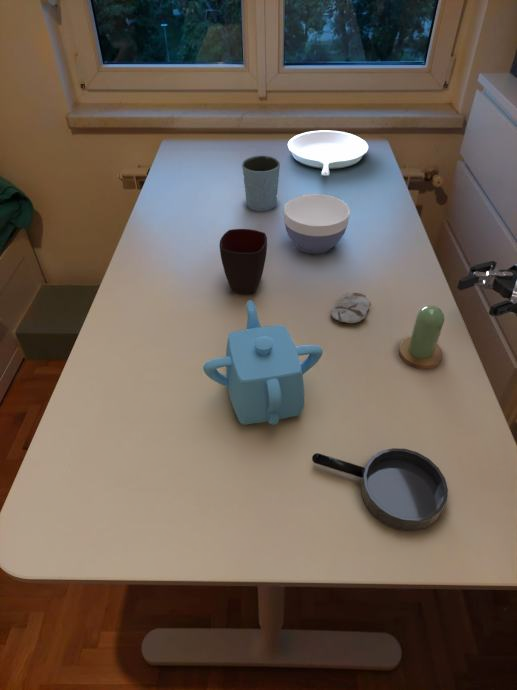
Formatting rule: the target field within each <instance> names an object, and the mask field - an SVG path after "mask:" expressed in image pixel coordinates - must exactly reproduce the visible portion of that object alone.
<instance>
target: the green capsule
mask: <svg viewBox="0 0 517 690" xmlns="http://www.w3.org/2000/svg"><path fill="white" fill-rule="evenodd" d="M417 312H418V313H417V314H416V317H415V322H414V325H413V329H412V332H411V336H410V338H411V340H410V343H409V347H408V350H409V352H410V353H411V354H412V355H413V356H415V357H417V358H420V359H427V358H430V357H432V356H433V354H434V351H435V348H436V345H438V342H439V339H440V335H441V332H442V329H443V326H444V322H445V314H444V312H443V310H442V309H441V308H440V307H439V306H436V305H432V304H430V305H425V306H422V308H420V309H419V310H418V311H417Z"/></svg>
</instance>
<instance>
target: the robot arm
mask: <svg viewBox="0 0 517 690" xmlns="http://www.w3.org/2000/svg"><path fill="white" fill-rule="evenodd" d="M497 264H498V263H497V262H496V261H495V260H490V261H485V262H483V263H478V264H474V265H471V266H470V267H469V270H468V273H467V275H466V276H462V277H461V278H459V281H458V283H457V287H456V289H457V290H459V291H463V290H466V289H469V288H472V287H474V286H478V287H483V289H485V290H492V291H494V292H495V293H498V294H499V295H500V296H501V297H502V298H503V299H506V300H503V301H500V302H497V303H493V304H492V305H491V306H490V309H489V311H488V315H490V316H491V317H494V316H496V317H500V316H502V315H505V314H515V316H516V317H517V263H515V264H513V265H512V266H511V267H509V268H508V269H503V268H502V269H500V268H498V267H497ZM480 278H482V279H484V280H480ZM492 278H494V279H493V281H492V283H490V282H491V279H492Z"/></svg>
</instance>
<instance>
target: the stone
mask: <svg viewBox="0 0 517 690" xmlns="http://www.w3.org/2000/svg"><path fill="white" fill-rule="evenodd" d="M371 306H372V302H371V300H370V299H369V298H368V297H367V295H365V294H363V293H361V292H360V293H359V292H351V293H347V294H343V295H341V296H340V297H339V299H338V302H337V303H336V304H335V306H333V307H332V308H331V310H330V315H331V317H332V318H333V319H334V320H335V321H336V320H337V321H338V322H340V323H342V322H343V323H347V324H354V323H355V324H357V323H359V322H362V320H364V319H366V318H367V316H368V313H367V312H368V311H369V309H370V307H371Z"/></svg>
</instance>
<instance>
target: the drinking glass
mask: <svg viewBox="0 0 517 690" xmlns="http://www.w3.org/2000/svg"><path fill="white" fill-rule="evenodd" d="M280 166H281V162H280V160H279V159H277V158H276V157H273V156H270V155H254V156H253V155H252V156H251V157H247V158H245V159H244V160H243V161H242V163H241V167H242V174H243V182H244V184H243V185H244V193H245V202H246V207H248V209H249V210H253V211H255V212H267V211H270V210H273V209H274V208H275V207H277V203H278V197H277V196H278V191H279V190H278V188H279V177H280V168H281V167H280Z"/></svg>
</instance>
